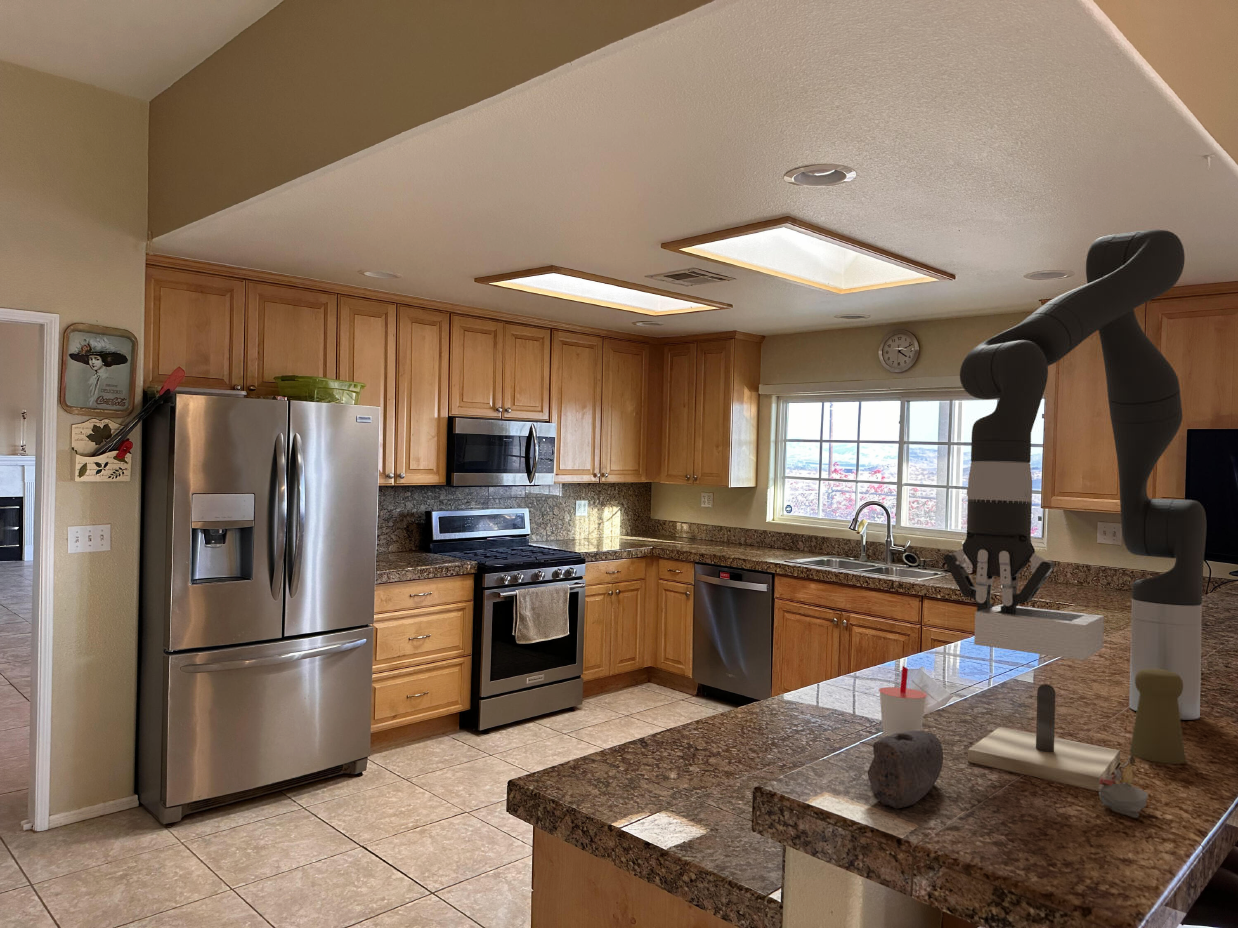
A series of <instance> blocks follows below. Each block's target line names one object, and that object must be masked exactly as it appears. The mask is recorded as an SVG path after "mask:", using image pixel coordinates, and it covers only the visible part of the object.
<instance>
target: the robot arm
mask: <svg viewBox="0 0 1238 928" xmlns="http://www.w3.org/2000/svg"><path fill="white" fill-rule="evenodd" d="M1085 260H1086V261H1085V275H1086V276H1085V277H1086V284H1085V285H1081V286H1078V287H1077V288H1076V287H1075V288H1074V289H1071V290H1069V291H1067V292H1065V293H1062V294H1059V295H1058V296H1055V297H1054V298H1052V299H1051V300H1048V301H1047V302H1046V303H1045V304H1043V305H1041V306H1040V307H1039V308H1038V309H1037V310H1035V311H1033V313H1031V314H1030V315H1028V316H1027V317H1026V318H1024V319H1023V320H1022V321H1021V322H1020V323H1019V324H1017V325H1015V326H1013V327H1011V328H1009V329H1005V330H1004V331H1002V332H1001V333H998V334H996V335H995V336H992V337H990V338H988V339H986V340H985V341H982V342H981V343H979V344H978V345H976V346H975V347H973V349H971V350H970V352H968V353H967V355H966V356H965V358H964V359H963V361H962V362H961V365H960V369H959V379H960V384H961V386H962V388H963V390H964V391H965V392H966V393H967V394H968V395H969V396H971V397H973V398H976V399H979V400H995V399H998V401H997V405H996V406H995V409H994V411H993V412H992V413H991V414H988V415H986V416H984V417H981V418H979V419H977V420H975V422H974V423H973V425H972V429H971V445H970V447H971V448H970V466H969V473H968V479H967V488H966V496H967V504H966V505H967V509H966V510H967V511H966V513H967V514H966V537H965V540H964V542H963V543H962V545H961V546H962V547H961V548H960V549H958V550H956V551H954V552H952V553H947V554H945V555H944V556H943V561H944V563H945V565H946V567H947V569H948V570H949V572H950V575H951V576H952V577H953V579H954V582H955V583H956V585H957V587H958V588H959V591H960V593H961V594H962V596H964V597H967V598H970V599H972V600H974V601H975V603H976V612H977V611H980V610H984V609H988V608H992V607H993V602H991V599H992V590H993V587H992V586H993V584H994V579H995V578H994V576H995V577H999V579H1000V581H999V582H1000V587H1001V600H1002V604H1003V606H1001V610H1002V613H1003V614H1012V615H1016V607H1017V606H1019V604H1024V603H1026V602H1027V603H1028V602H1030V601H1032V600H1033V598H1034V597H1035V596H1036V594H1037V593H1038V592H1039V590H1040V588H1041V587H1042V586H1043V584H1044V583H1045V582H1046V580H1047V579H1048V577H1049V576H1050V575H1051V573H1052V572H1053V570H1054V569H1055V567H1056V566H1055V563H1054V562H1053V561H1052V560H1046V559H1045V558H1043V557H1042V556H1040V555H1038V554H1037V553H1036V549H1035V547H1034V546H1033V543H1032V541H1031V539H1032V508H1033V507H1032V504H1033V503H1032V501H1033V500H1032V499H1033V476H1032V470H1031V458H1032V457H1031V456H1032V455H1031V453H1032V451H1031V450H1032V431H1033V427H1034V424H1035V422H1036V420H1037V417H1038V413H1039V409H1040V407H1041V406H1040V405H1041V402H1042V399H1043V397H1044V393H1045V391H1046V388H1047V387H1046V386H1047V383H1048V377H1049V366H1051V365H1054V364H1056V363H1057V362H1059V361H1060V360H1062V359H1063V358H1065V356H1067V355H1068V354H1069V353H1070V352H1072V351H1073V350H1074V349H1075V348H1077V347H1078V346H1079V345H1080V344H1081V343H1082V342H1083V341H1085V340H1086V339H1089V337H1090V336H1092V335H1093V334H1095V333H1096V332H1098V334H1099V340H1100V344H1101V351H1102V358H1103V363H1104V372H1105V379H1106V388H1107V389H1106V391H1107V401H1108V407H1109V408H1108V409H1109V416H1110V421H1111V427H1112V434H1113V440H1114V445H1115V452H1116V453H1115V454H1116V460H1117V467H1118V468H1117V469H1118V470H1117V471H1118V487H1119V502H1120V503H1119V505H1120V506H1119V509H1120V524H1121V527H1120V528H1121V534H1122V539H1123V542H1124V546H1125V548H1126V551H1128V552H1129V553H1131V554H1132V555H1137V556H1141V557H1152V558H1163V559H1164V558H1166V559H1175V563H1174V565H1173V567H1172V568H1171V569H1169V570H1168V571H1166V572H1164V573H1161V574H1158V575H1154V576H1151V577H1150V576H1149V577H1147V578H1146V577H1145V578H1142V579H1137V580H1135V581H1133V583H1132V585H1131V610H1130V611H1131V616H1130V617H1131V622H1130V631H1131V632H1130V665H1129V666H1130V668H1129V698H1128V699H1129V703H1128V704H1129V705H1128V706H1129V709H1131V710H1133V711H1135V712H1137V707H1138V702H1139V696H1140V692H1139V691H1138V690H1137V688H1136V685H1135V677H1136V674H1137V673H1138V672H1139V670H1141V669H1147V668H1157V669H1164V670H1168V671H1171V672H1174V673H1176V674H1177V675H1179V676H1180V678H1181V679H1182V682H1183V690H1182V694H1181V695H1180V696H1179V697H1178V706H1179V714H1180V720H1189V721H1192V720H1198V719H1199V718H1200V716H1201V715H1200V714H1201V713H1200V712H1201V676H1202V675H1201V671H1202V670H1201V669H1202V668H1201V667H1202V617H1203V616H1202V614H1203V611H1202V609H1203V608H1202V607H1203V585H1204V582H1203V580H1204V563H1205V562H1204V561H1205V552H1206V539H1207V516H1206V511H1205V508H1204V506H1203V505H1202V503H1200V502H1199V501H1197V500H1192V499H1182V498H1181V499H1180V498H1179V499H1177V498H1175V499H1173V498H1150V497H1149V496H1148V492H1147V491H1148V490H1147V488H1148V487H1147V486H1148V480H1149V479H1150V478H1149V477H1150V475H1151V473H1152V472H1153V469H1154V468H1155V467H1156V464H1157V463H1158V461H1159V460H1160V458H1161V456H1163V454H1164V452H1165V451H1166V450H1167V448H1168V447H1169V446H1170V444H1171V443H1172V441H1173V439H1174V438H1175V437H1176V435H1177V434H1178V432H1179V430H1180V427H1181V426H1182V421H1183V408H1182V407H1183V406H1182V396H1181V387H1180V382H1179V378H1178V375H1177V373H1176V371H1175V370H1174V368H1173V367H1172V365H1171V363H1170V362H1169V361H1168V360H1167V359H1166V357H1165V356H1164V355H1163V354H1162V352H1161V351H1160V350H1159V349H1158V348H1157V347H1156V345H1154V343H1153V342H1152V341H1151V340H1150V338H1149V337H1148V336H1147V334H1146V333H1145V332H1144V330H1143V329H1142V327H1141V325H1140V324H1139V322H1138V319H1137V315H1136V312H1135V309H1136V308H1138V307H1140V306H1142V305H1144V304H1146V303H1148V302H1149V301H1152V300H1153V299H1155V298H1158V297H1159V296H1162V295H1163V294H1165V293H1167V292H1168V291H1169V290H1171V289H1172V288H1173V287H1175V285H1176V284H1177V282H1178V281H1179V279H1180V278H1181V276H1182V273H1183V270H1184V267H1185V249H1184V245H1183V243H1182V240H1181V239H1180V238H1179V236H1178V235H1177V234H1176V233H1174V232H1172V231H1169V230H1167V229H1165V230H1164V229H1147V230H1137V231H1130V232H1122V233H1117V234H1116V233H1115V234H1109V235H1104V236H1100V237H1098V238H1096V239H1095V240H1094V241H1093V242H1092V243H1091V245H1090V247H1089V249H1088V251H1087V254H1086V259H1085ZM966 558H967V560H968V561H969V562H970V564H971V565H972V567H973V568H974V569H975V571H976V578H975V583H976V586H975V584H974V582H973V580H972V579H971V577H970V575H969V574H968V572H967V570H966V568H965V566H966V565H967V561H966ZM1030 562H1031V566H1030V571H1031V573H1032V574H1031V576H1030V578H1029V579H1028V580H1027V582H1026V584H1025V585H1024V586H1023V587H1022V588H1021V590H1020V592H1018V585H1019V584H1018V583H1019V580H1018V577H1019V576H1018V575H1019V574H1020V573H1021V571H1022V570H1023V569H1025V567H1026V566H1027V565H1028V564H1029V563H1030Z"/></svg>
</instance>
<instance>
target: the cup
mask: <svg viewBox="0 0 1238 928" xmlns="http://www.w3.org/2000/svg"><path fill="white" fill-rule="evenodd" d="M901 669H902V670H901V680H900V687H899V686H898V687H897V686H895V687H894V686H885V687H881V688H879V689H878V691H879V697H880V699H879V700H880V711H881V712H880V713H881V726H882V727H881V728H882V730H881V731H882V738H884V737H885V736H891V735H893V734H896V733H903V732H908V731H922V727H923V720H924V712H925V705H926V698H927V697H928V695H927V693H926V692H923V691H921V690H918V689H912V688H907V684H908V683H907V682H908V671H909V669H908V668H907V667H906V666H905V665H902V668H901Z"/></svg>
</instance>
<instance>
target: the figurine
mask: <svg viewBox="0 0 1238 928" xmlns="http://www.w3.org/2000/svg"><path fill="white" fill-rule="evenodd" d="M1136 760H1137V758H1136V756H1134V755H1133V754H1130V755H1129V756H1128V759H1127V761H1126V762H1125V763H1120V764H1119V766H1118V768H1116V769H1115V770H1114V771H1113V772H1112V773H1111V774H1109V772H1108V771H1107V770H1105V771H1107V772H1108V774H1109V776H1110V777H1109V776H1108V775H1107V772H1106V773H1105V774H1106V776H1107V777H1108V778H1100V782H1099V784H1101V787H1100V788H1099V789H1100V790H1099V791H1098V796H1099V800H1100V802H1101V803H1102V805H1103V806H1107V807H1108V808H1109V809H1111V811H1113V812H1114V813H1118V814H1122V815H1125V816H1128V817H1131V818H1135V819H1138V818H1139V817H1140V813H1139V812H1141V810H1142V809H1144V808H1145V807H1146V805H1147V804H1146V803H1147V802H1148V801H1147V800H1148V797H1149V793H1147V792H1146V791H1145V790H1143V789H1141V788H1139V787H1137V786H1133V784H1132V783H1134V774H1133V769H1132V766H1133V765H1136V763H1137V762H1136ZM1120 768H1124V770H1123V772H1122V771H1121V770H1120ZM1102 772H1103V771H1102ZM1113 773H1114V774H1113ZM1115 780H1116V781H1121V782H1120V783H1116V781H1115Z"/></svg>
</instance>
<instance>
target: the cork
mask: <svg viewBox="0 0 1238 928" xmlns="http://www.w3.org/2000/svg"><path fill="white" fill-rule="evenodd" d="M1135 685H1136V688H1137V690H1138V691H1139V692H1140V696H1139V702H1138V707H1137V711H1136V713H1135V719H1134V720H1135V721H1134V724H1133V725H1134V726H1133V730H1132V737H1131V743H1130V747H1129V752H1130V755H1133V756H1134V757H1137V758H1140V759H1143V760H1147V761H1151V762H1157V763H1162V764H1173V765H1177V764H1180V765H1181V764H1184V763H1186V762H1187V760H1186V754H1185V747H1184V738H1183V729H1182V724H1181V723H1182V722H1181V719H1180V714H1179V706H1178V697H1179V696H1180V695H1181V694H1182V690H1183V682H1182V679H1181V678H1180V676H1179V675H1177V674H1176V673H1174V672H1171V671H1168V670H1164V669H1157V668H1147V669H1141V670H1139V672H1138V673H1137V674H1136V677H1135Z"/></svg>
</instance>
